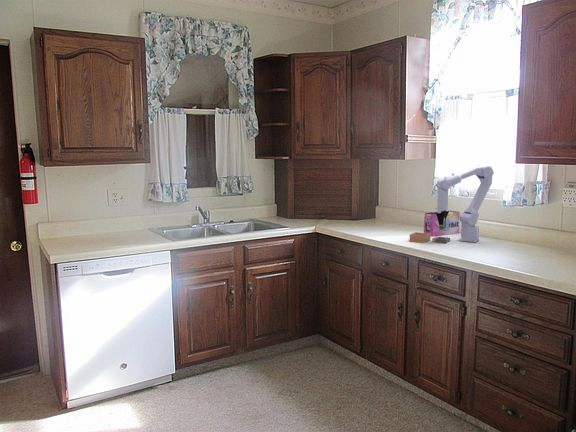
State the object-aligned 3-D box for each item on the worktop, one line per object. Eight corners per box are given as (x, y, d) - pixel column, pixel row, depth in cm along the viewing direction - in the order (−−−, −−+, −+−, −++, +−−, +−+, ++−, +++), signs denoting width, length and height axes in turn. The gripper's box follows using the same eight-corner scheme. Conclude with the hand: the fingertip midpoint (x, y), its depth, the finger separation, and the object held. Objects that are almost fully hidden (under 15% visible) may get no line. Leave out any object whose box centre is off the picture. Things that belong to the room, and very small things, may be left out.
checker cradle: (450, 241, 289) (450, 237, 289) (446, 243, 283) (446, 239, 282) (436, 239, 294) (436, 236, 293) (432, 242, 287) (432, 238, 287)
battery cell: (445, 229, 288) (445, 216, 287) (443, 230, 285) (444, 217, 284) (439, 228, 290) (440, 215, 288) (437, 229, 287) (438, 216, 286)
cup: (430, 240, 292) (430, 233, 292) (425, 242, 284) (425, 235, 284) (414, 238, 297) (415, 232, 297) (409, 241, 289) (409, 234, 289)
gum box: (430, 236, 304) (431, 214, 302) (421, 234, 311) (422, 213, 309) (459, 233, 315) (460, 211, 313) (449, 231, 322) (450, 210, 320)
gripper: (439, 198, 293) (438, 222, 295) (431, 201, 281) (430, 225, 283) (451, 199, 289) (450, 222, 291) (444, 202, 277) (443, 226, 279)
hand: (441, 224), depth 287 cm, fingers closed on battery cell, 3 cm apart
